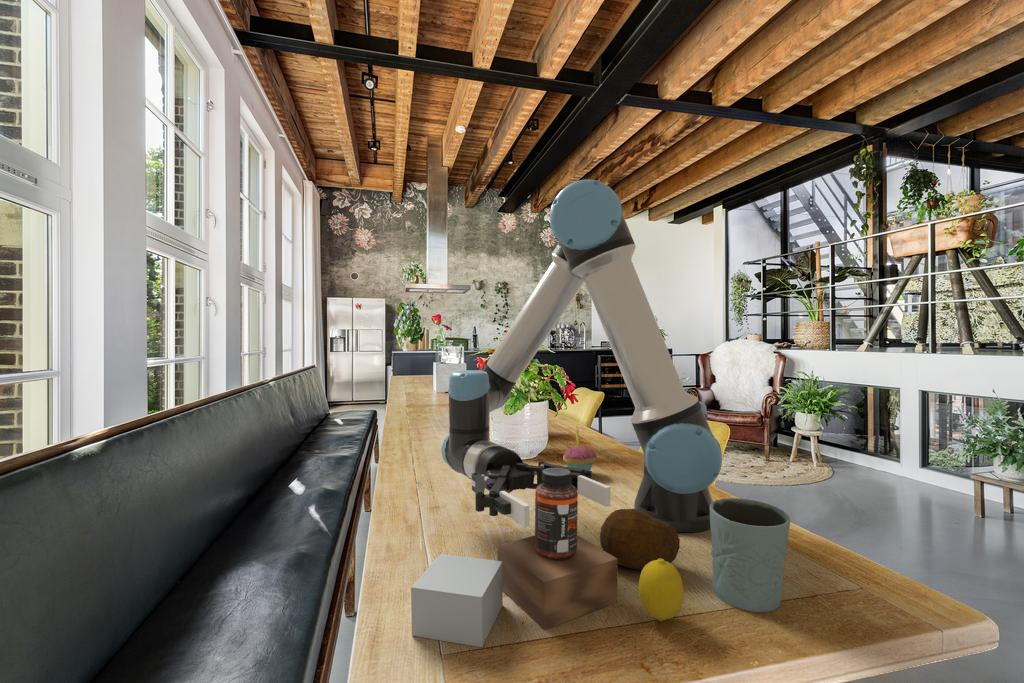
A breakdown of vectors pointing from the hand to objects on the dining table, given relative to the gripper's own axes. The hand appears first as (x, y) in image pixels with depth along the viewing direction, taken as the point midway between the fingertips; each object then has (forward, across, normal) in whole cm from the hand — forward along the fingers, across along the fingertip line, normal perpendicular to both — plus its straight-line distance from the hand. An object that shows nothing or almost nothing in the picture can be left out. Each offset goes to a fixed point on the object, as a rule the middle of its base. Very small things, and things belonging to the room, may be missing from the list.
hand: (570, 506), depth 66 cm
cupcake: (-45, -38, -14) cm, 60 cm away
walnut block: (-3, 0, -14) cm, 14 cm away
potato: (-3, -16, -14) cm, 21 cm away
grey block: (-5, +14, -14) cm, 20 cm away
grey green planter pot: (+11, -23, -14) cm, 29 cm away
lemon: (+9, -8, -14) cm, 18 cm away
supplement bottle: (-3, 0, -8) cm, 8 cm away
